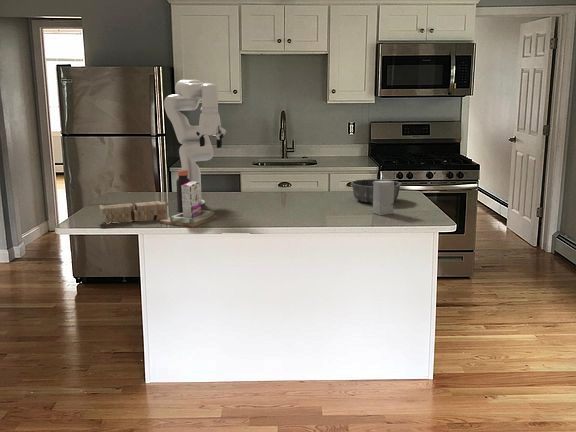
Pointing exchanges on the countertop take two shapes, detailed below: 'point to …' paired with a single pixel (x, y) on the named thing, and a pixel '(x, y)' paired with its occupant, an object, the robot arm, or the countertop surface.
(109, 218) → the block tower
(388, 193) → the skincare box
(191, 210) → the candy bar box
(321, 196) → the countertop surface
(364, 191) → the bundt pan
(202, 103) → the robot arm
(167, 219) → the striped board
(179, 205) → the bottle
